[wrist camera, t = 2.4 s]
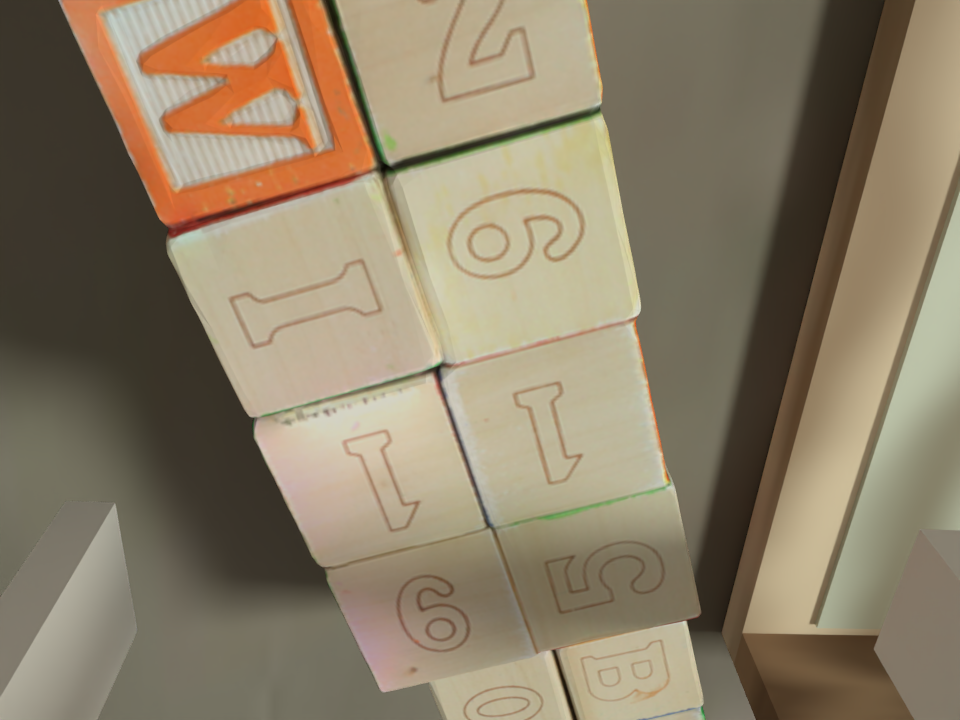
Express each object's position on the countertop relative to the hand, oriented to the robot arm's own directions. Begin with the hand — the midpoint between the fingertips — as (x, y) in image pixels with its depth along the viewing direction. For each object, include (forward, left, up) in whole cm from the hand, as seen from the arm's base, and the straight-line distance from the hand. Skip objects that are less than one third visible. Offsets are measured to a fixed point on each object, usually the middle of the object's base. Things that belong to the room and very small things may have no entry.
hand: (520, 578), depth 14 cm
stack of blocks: (0, -1, -13) cm, 13 cm away
